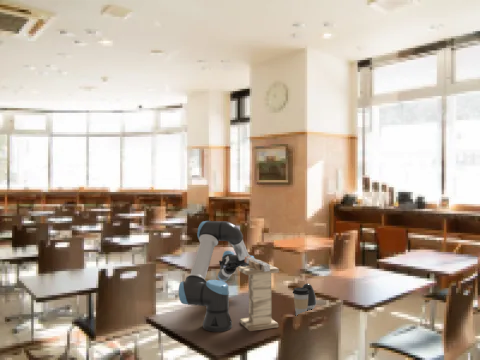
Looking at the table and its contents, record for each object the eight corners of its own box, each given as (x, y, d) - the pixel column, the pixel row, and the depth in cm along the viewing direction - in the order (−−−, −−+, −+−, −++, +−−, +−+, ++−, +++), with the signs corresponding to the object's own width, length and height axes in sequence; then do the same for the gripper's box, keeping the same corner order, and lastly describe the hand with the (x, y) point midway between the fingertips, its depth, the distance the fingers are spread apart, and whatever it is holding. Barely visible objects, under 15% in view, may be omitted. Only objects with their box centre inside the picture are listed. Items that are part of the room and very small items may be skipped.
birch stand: (280, 327, 211) (279, 263, 211) (247, 331, 204) (247, 265, 205) (268, 318, 224) (268, 258, 224) (238, 322, 218) (238, 260, 218)
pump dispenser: (303, 312, 235) (303, 286, 235) (296, 307, 245) (296, 282, 245) (319, 311, 238) (319, 285, 238) (311, 306, 248) (311, 281, 248)
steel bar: (270, 271, 205) (270, 265, 205) (264, 271, 204) (264, 265, 204) (249, 261, 231) (249, 256, 231) (244, 262, 230) (244, 256, 230)
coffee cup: (307, 313, 234) (307, 287, 234) (311, 318, 224) (311, 291, 225) (291, 313, 233) (291, 287, 234) (294, 318, 224) (294, 291, 224)
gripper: (248, 273, 264) (259, 261, 247) (211, 276, 255) (220, 264, 238) (245, 262, 267) (256, 250, 250) (209, 264, 259) (218, 252, 241)
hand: (238, 257), depth 244 cm, fingers open, 13 cm apart
